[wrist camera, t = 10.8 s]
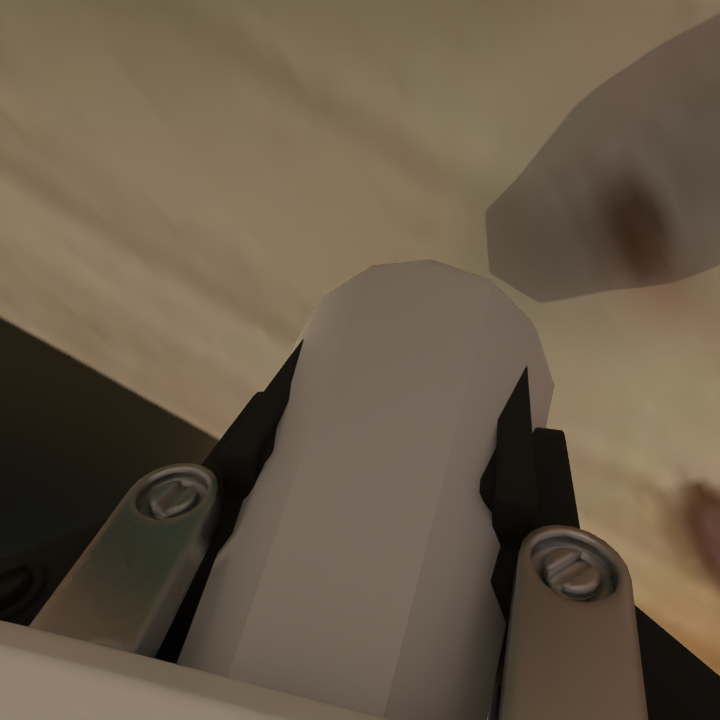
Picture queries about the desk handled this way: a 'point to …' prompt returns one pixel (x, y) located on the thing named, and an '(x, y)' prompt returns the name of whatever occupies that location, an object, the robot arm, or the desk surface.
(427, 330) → the salt shaker
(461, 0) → the desk surface
